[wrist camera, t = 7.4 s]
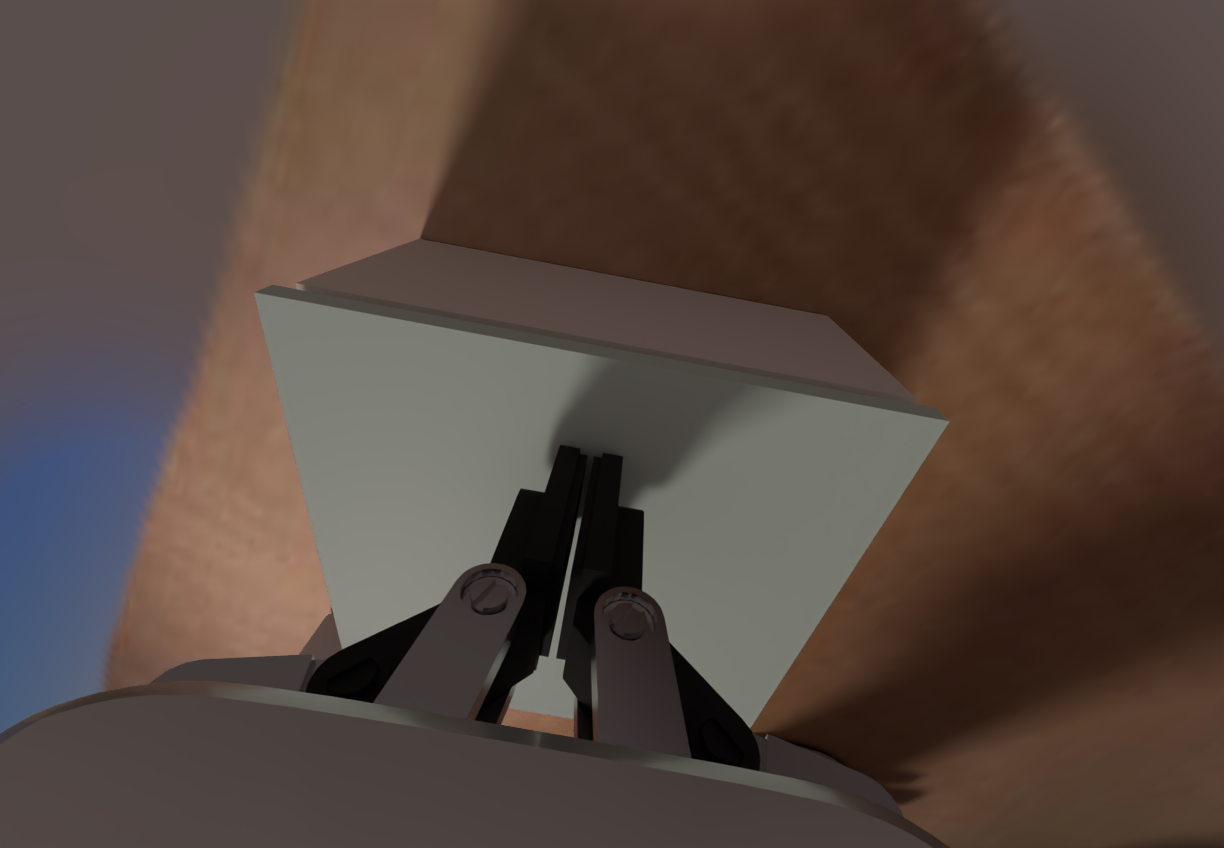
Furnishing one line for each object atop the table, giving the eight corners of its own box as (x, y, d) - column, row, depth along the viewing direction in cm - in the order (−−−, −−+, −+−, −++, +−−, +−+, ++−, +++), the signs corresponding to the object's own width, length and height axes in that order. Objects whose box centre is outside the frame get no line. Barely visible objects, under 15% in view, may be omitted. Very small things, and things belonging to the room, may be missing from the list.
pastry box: (827, 315, 18) (917, 398, 12) (714, 591, 26) (733, 727, 20) (419, 238, 18) (296, 283, 11) (430, 541, 25) (361, 663, 19)
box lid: (936, 407, 11) (949, 421, 11) (735, 731, 20) (737, 747, 19) (272, 285, 11) (253, 292, 10) (357, 666, 19) (349, 680, 19)
